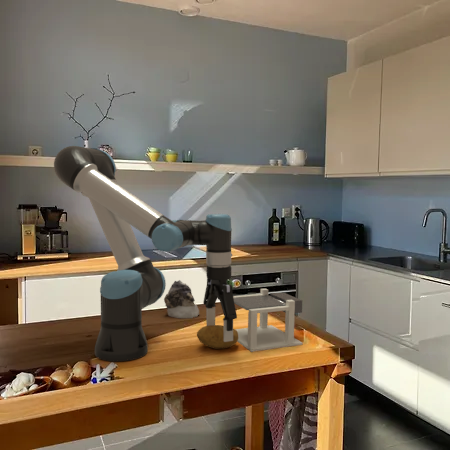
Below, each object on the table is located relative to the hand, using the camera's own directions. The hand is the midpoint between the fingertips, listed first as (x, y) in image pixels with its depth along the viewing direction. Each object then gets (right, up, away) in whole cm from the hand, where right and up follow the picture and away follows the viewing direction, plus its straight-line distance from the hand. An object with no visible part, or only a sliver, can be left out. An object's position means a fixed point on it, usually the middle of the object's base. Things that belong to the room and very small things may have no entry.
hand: (219, 334), depth 145 cm
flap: (+15, +6, +10) cm, 19 cm away
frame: (+14, -4, +10) cm, 17 cm away
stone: (-15, -1, +36) cm, 39 cm away
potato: (-1, -4, +1) cm, 4 cm away
